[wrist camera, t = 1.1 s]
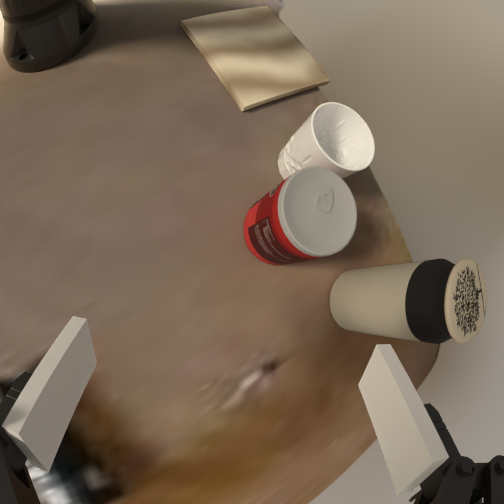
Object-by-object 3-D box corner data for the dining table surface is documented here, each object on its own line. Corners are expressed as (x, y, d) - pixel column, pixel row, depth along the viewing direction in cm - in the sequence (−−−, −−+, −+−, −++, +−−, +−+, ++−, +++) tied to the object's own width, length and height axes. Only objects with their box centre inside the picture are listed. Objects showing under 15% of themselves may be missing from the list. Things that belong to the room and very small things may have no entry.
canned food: (305, 205, 37) (359, 177, 27) (299, 270, 36) (356, 262, 26) (245, 191, 35) (285, 154, 25) (237, 260, 34) (275, 248, 24)
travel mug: (333, 337, 37) (448, 361, 20) (323, 275, 37) (441, 263, 20) (379, 321, 39) (490, 329, 22) (371, 264, 40) (483, 248, 23)
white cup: (335, 162, 40) (381, 132, 30) (315, 208, 38) (364, 185, 28) (287, 129, 38) (326, 89, 29) (262, 174, 36) (299, 138, 27)
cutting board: (180, 25, 35) (181, 20, 34) (265, 10, 40) (267, 5, 39) (242, 111, 36) (244, 106, 35) (326, 84, 41) (330, 80, 40)
